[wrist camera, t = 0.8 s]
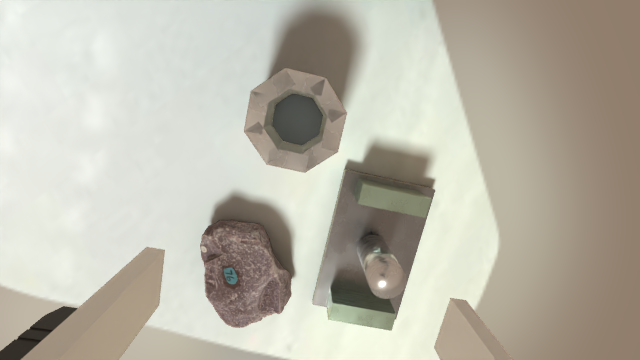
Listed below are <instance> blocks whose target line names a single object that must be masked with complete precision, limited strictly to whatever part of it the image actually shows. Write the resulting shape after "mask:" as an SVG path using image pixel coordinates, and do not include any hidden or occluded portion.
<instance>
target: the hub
mask: <svg viewBox="0 0 640 360" xmlns="http://www.w3.org/2000/svg"><path fill="white" fill-rule="evenodd" d="M292 93H294V94H298V95H302V96H306V97H311V98H313V100H314V101H315V103H316V104H317V106H318V108H319V109H320V111H321V113H322V114H323V118H322V123H321V127H320V132H319V135H318V136H316V137H315V138H313V139H312V140H310V141H308V142H307V143H305V144H304V145H298V144H293V143H289V142H284V141H283V140H282V139H281V137H280V136H279V134H278V133H277V131H276V130H275V128H274V127H273V125H272V121H273V116H274V111H275V106H276V104H277V103H279V102H280V101H282V100H283V99H285V98H286V97H288V96H289V95H291V94H292ZM346 115H347V112H346V110H345V109H344V107H343V105H342V104H341V102H340V100H339V99H338V97H337V95H336V94H335V92H334V90H333V89H332V87H331V85H330V84H329V82H328V80H327V79H326V77H322V76H318V75H313V74H309V73H305V72H301V71H297V70H293V69H289V68H284V69H283V70H281V71H280V72H278V73H277V74H275V75H274V76H272V77H271V78H269V79H268V80H266V81H265V82H263V83H262V84H260V85H259V86H257V87H256V88H254V89H253V90H251V94H250V99H249V105H248V111H247V116H246V122H245V128H244V132H245V134H246V135H247V136H248V138H249V139H250V141H251V142H252V144H253V145H254V147H255V148H256V150H257V151H258V153H259V154H260V156H261V157H262V158H263V160H264V161H265V163H266V164H267V165H271V166H276V167H281V168H285V169H290V170H295V171H299V172H304V173H305V172H307V171H308V170H310V169H312V168H313V167H315V166H316V165H318V164H319V163H321V162H323V161H324V160H326V159H327V158H329V157H331V156H332V155H334V154H335V153H337V152H338V149H339V145H340V141H341V136H342V132H343V128H344V124H345V119H346Z"/></svg>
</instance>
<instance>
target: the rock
mask: <svg viewBox="0 0 640 360" xmlns="http://www.w3.org/2000/svg"><path fill="white" fill-rule="evenodd" d="M269 241H270V240H269V237H268V235H267V233H266V231H265V229H264V228H263V226H261V225H259V224H255V223H246V222H242V223H240V222H237V221H234V220H230V221H224V220H221V221H218V222H217V223H215V224H213V225H210V226H208V228H207V229H206V230H205V232H204V234H203V235H202V241H201V244H200V248H201V257H202V260H203V262H204V266H205V293H206V297H207V298H208V300H209V301H210V303H211V304H212V305H213V307H214V308H215V310H216V312H217V313H218V315H219V316H220V318H221V319H222V320H223V321H224V322H225V323H226V324H227V325H229V326H231V327H235V328H240V327H245V326H248V325H249V324H251V323H255V322H258V321H260V320H262V318H263V317H266V316H268V315H272V314H274V313H277V314H280V313H281V312H282V311H283V309H284V306H285V305H286V304H287V302H288V300H289V298H290V297H291V275H290V274H289V272H288V271H287V270H285V269H284V268H283V267H282V266H281V264H280V263H279V261H278V260H277V259H276V257H275V256H274V254H273V251H272V249H271V245H270V243H269Z"/></svg>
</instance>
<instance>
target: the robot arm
mask: <svg viewBox="0 0 640 360" xmlns="http://www.w3.org/2000/svg"><path fill="white" fill-rule="evenodd" d="M164 253H165V250H162V249H156V248H150V247H146V248H145V249H144V250H143V251H142V252H141V253H139V254H138V255H137V256H136V257H135V258H134V259H133V260H132V261H131V262H129V263H128V264H127V265H126V266H125V267H124V268H123V269H122V270H120V271H119V272H118V273H117V274H116V275H115V276H114V277H113V278H111V279H110V280H109V281H108V282H107V283H106V284H105V285H104V286H103V287H101V288H100V289H99V290H98V291H97V292H96V293H95V294H94V295H92V296H91V297H90V298H89V299H88V300H87V301H86V302H85V303H83V304H82V305H81V306H80V307H79V308H72V307H65V306H63V307H61V308H59V309H57V310H55V311H53V312H51V313H49V314H47V315H45V316H44V317H42V318H41V319H40V320H39V321H37V322H36V323H35V324H34V325H32V326H31V327H30V329H29V330H26V331H25V332H24V333H22V334H21V335H20V336H19V337H18V339H17V340H14V341H13V342H12V343H10V344H9V345H8V346H6V347H5V348H4V349H3V350H1V351H0V360H119V359H120V357H121V356H122V355H123V353H124V352H125V351H126V349H127V348H128V346H129V345H130V344H131V342H132V341H133V340H134V338H135V337H136V336H137V334H138V333H139V332H140V330H141V329H142V328H143V326H144V325H145V323H146V322H147V321H148V319H149V318H150V317H151V315H152V314H153V313H154V311H155V310H156V309H157V307H158V306H159V301H160V291H161V282H162V272H163V262H164ZM434 348H435V350H436V352H437V354H438V356H439V358H440V360H513V359H512V358H511V357H510V355H509V354H508V353H507V351H506V350H505V349H504V347H503V346H502V345H501V344H500V343H499V341H498V340H497V339H496V337H495V336H494V335H493V334H492V332H491V331H490V330H489V329H488V328H487V326H486V325H485V324H484V323H483V321H482V320H481V319H480V317H479V316H478V315H477V314H476V312H475V311H474V310H473V309H472V307H471V306H470V305H469V304H468V302H467V301H466V300H460V299H454V298H450V301H449V304H448V307H447V310H446V313H445V316H444V319H443V322H442V325H441V328H440V331H439V334H438V337H437V340H436V343H435V346H434Z"/></svg>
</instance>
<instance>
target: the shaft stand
mask: <svg viewBox="0 0 640 360" xmlns="http://www.w3.org/2000/svg"><path fill="white" fill-rule="evenodd" d="M434 193H435V189H433V188H430V187H426V186H421V185H417V184H412V183H407V182H403V181H398V180H393V179H389V178H384V177H380V176H375V175H370V174H366V173H361V172H356V171H352V170H347V169H344V173H343V177H342V181H341V185H340V189H339V193H338V197H337V201H336V205H335V209H334V214H333V218H332V222H331V226H330V230H329V234H328V238H327V242H326V246H325V251H324V255H323V259H322V263H321V267H320V271H319V275H318V279H317V283H316V287H315V292H314V296H313V305H318V306H323V307H327V313H328V320H333V321H339V322H345V323H351V324H356V325H362V326H368V327H374V328H379V329H385V330H392V327H393V324H394V320H395V319H396V317H397V314H398V311H399V307H400V304H401V301H402V297H403V294H404V291H405V288H406V284H407V281H408V278H409V274H410V271H411V268H412V265H413V261H414V258H415V255H416V252H417V248H418V245H419V242H420V238H421V235H422V232H423V229H424V225H425V222H426V219H427V216H428V212H429V209H430V206H431V202H432V199H433V196H434Z"/></svg>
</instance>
